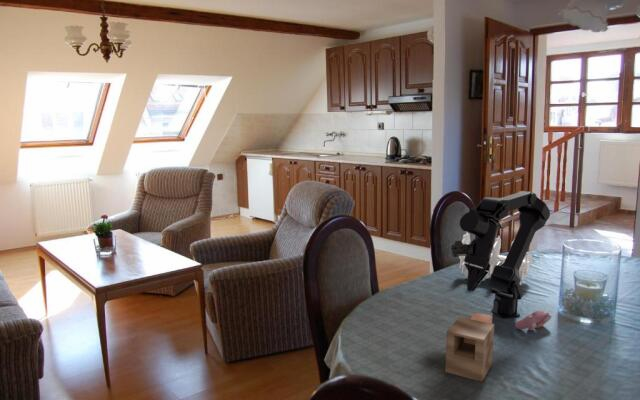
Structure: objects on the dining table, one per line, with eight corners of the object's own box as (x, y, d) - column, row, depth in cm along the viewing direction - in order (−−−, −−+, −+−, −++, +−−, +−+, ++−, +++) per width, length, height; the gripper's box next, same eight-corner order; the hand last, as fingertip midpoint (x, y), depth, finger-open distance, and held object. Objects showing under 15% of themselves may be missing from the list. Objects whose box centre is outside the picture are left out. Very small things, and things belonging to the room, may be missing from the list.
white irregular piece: (521, 300, 180) (455, 284, 194) (534, 269, 191) (471, 255, 205) (520, 263, 170) (450, 248, 185) (534, 232, 181) (467, 220, 196)
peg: (474, 327, 136) (475, 312, 135) (491, 331, 134) (492, 315, 133) (463, 342, 128) (464, 326, 127) (481, 346, 125) (482, 330, 124)
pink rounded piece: (523, 337, 145) (534, 321, 141) (512, 326, 148) (522, 310, 145) (546, 330, 150) (557, 314, 146) (535, 319, 153) (545, 303, 149)
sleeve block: (457, 355, 132) (459, 316, 130) (492, 364, 127) (494, 324, 125) (445, 371, 124) (446, 331, 122) (481, 381, 119) (483, 339, 117)
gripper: (460, 235, 157) (446, 283, 156) (453, 228, 140) (438, 281, 139) (496, 245, 153) (482, 294, 152) (494, 238, 136) (479, 294, 135)
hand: (470, 290), depth 144 cm, fingers open, 9 cm apart
